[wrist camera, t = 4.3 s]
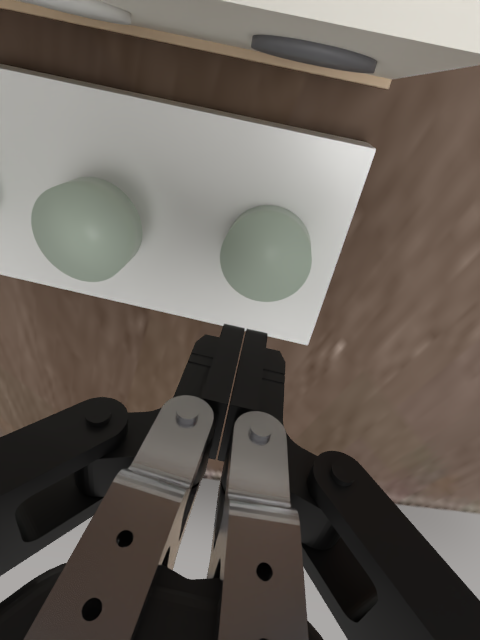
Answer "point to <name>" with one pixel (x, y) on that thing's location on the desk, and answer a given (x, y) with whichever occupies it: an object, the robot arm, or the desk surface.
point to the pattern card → (295, 31)
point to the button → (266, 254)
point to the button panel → (174, 193)
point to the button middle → (87, 228)
